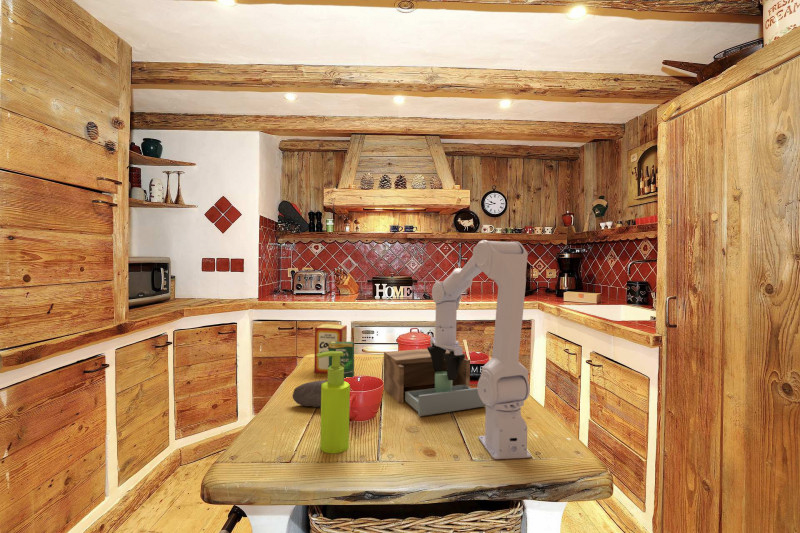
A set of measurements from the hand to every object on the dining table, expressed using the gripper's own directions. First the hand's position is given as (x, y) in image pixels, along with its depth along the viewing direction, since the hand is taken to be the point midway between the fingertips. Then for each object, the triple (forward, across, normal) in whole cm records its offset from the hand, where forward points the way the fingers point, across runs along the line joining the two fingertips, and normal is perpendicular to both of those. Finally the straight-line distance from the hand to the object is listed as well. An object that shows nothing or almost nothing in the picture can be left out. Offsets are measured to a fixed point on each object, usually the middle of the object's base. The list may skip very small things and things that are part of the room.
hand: (444, 375), depth 106 cm
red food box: (+8, +42, +22) cm, 48 cm away
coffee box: (+8, +27, +22) cm, 36 cm away
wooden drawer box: (+8, +11, 0) cm, 14 cm away
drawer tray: (+8, 0, 0) cm, 8 cm away
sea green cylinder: (+6, 0, 0) cm, 6 cm away
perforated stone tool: (+8, +10, +32) cm, 35 cm away
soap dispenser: (+8, -13, +34) cm, 37 cm away
